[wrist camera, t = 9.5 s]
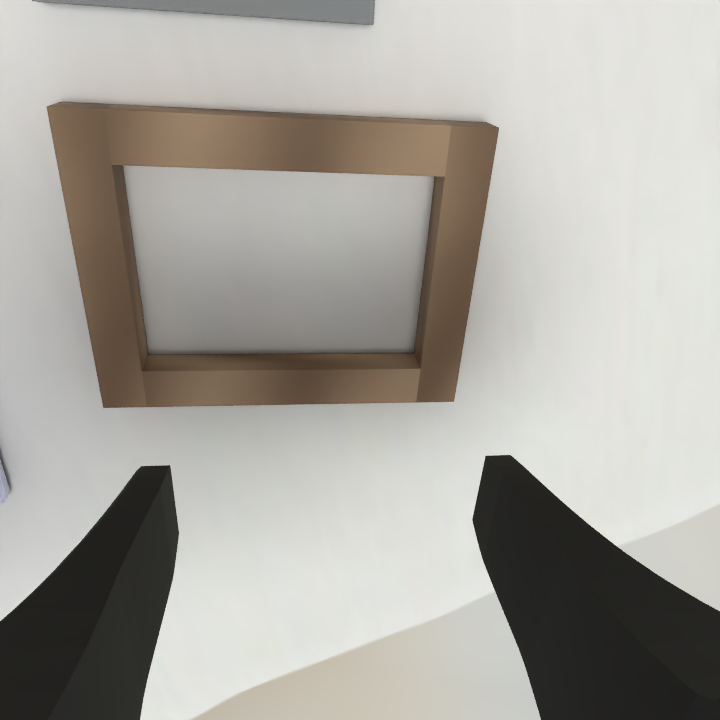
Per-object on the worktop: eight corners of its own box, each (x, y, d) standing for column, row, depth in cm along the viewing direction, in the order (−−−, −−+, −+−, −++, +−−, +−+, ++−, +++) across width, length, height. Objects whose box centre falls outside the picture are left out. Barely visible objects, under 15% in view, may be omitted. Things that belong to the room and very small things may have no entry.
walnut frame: (111, 389, 22) (103, 407, 21) (60, 102, 17) (46, 106, 16) (446, 385, 24) (453, 401, 23) (486, 122, 19) (498, 128, 18)
